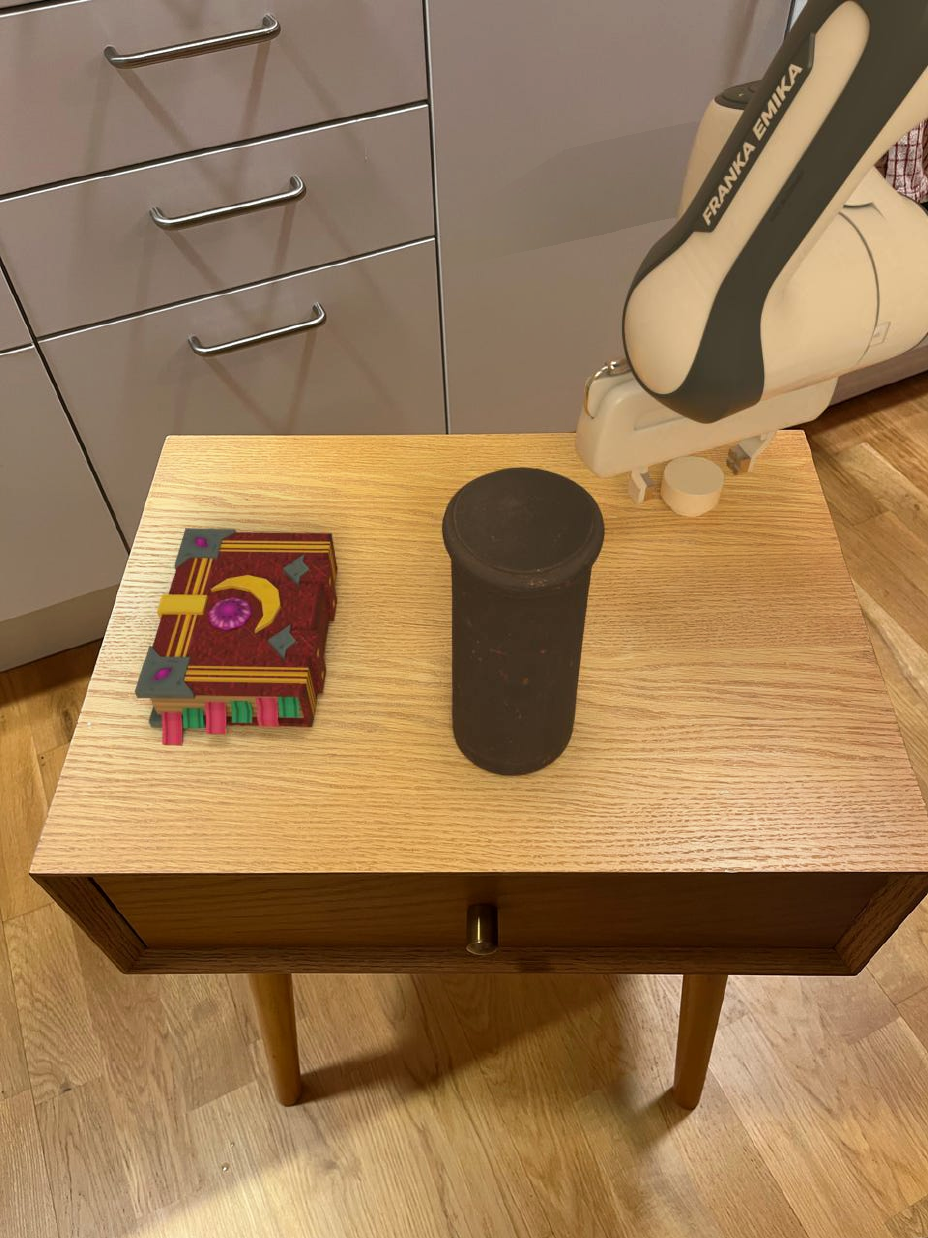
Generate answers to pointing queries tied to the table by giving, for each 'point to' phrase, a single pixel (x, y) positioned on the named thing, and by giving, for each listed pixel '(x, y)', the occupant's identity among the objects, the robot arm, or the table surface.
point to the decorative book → (241, 632)
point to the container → (518, 613)
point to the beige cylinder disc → (692, 485)
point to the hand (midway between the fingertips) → (689, 482)
